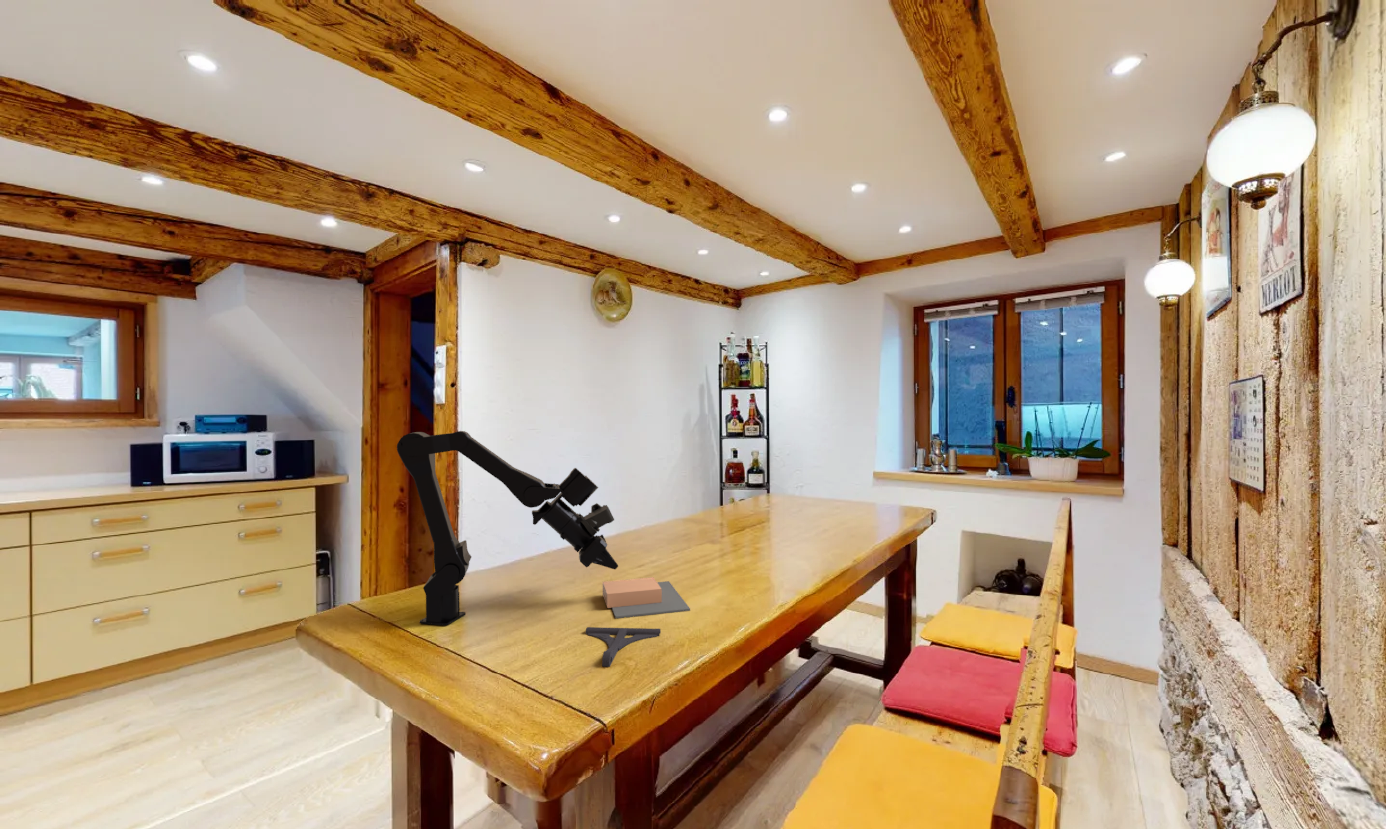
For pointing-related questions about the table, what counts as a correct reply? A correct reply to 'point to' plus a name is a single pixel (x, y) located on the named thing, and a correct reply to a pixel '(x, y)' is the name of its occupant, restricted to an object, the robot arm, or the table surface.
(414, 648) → the table surface
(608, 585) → the brick
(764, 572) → the table surface
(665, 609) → the mat
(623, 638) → the bracket
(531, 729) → the table surface
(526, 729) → the table surface
